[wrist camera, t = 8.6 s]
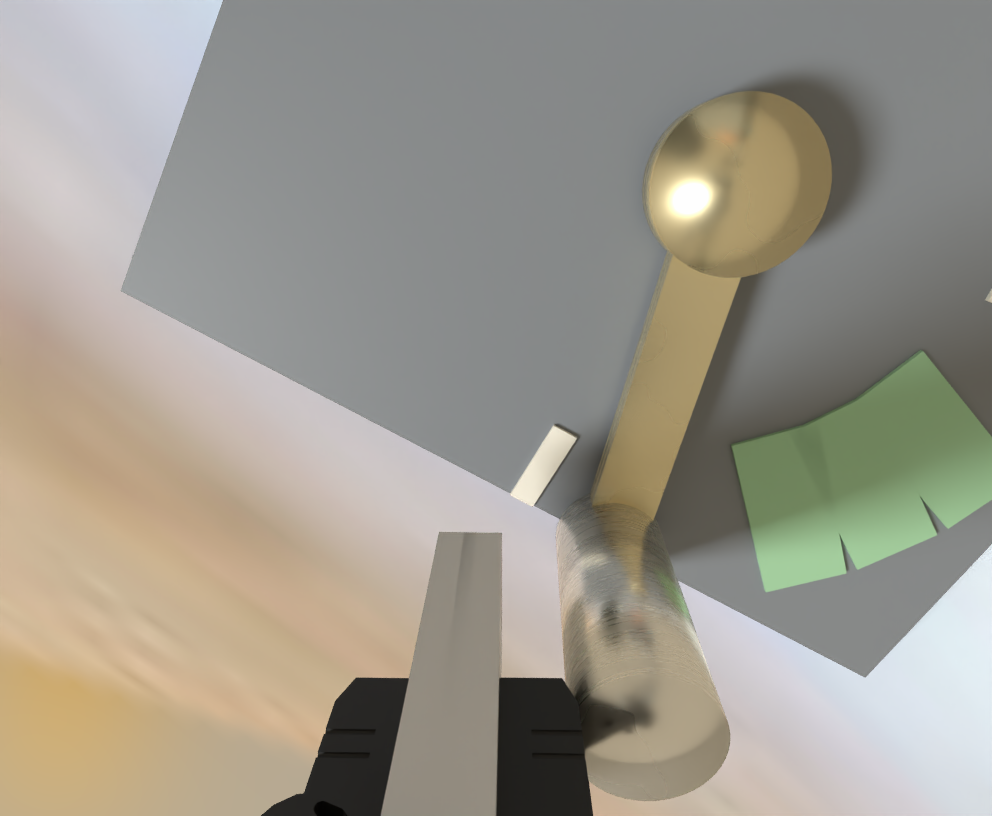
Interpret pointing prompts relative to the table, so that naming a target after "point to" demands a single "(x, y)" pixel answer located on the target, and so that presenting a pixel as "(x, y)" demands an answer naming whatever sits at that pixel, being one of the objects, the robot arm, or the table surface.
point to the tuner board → (616, 267)
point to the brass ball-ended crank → (674, 440)
